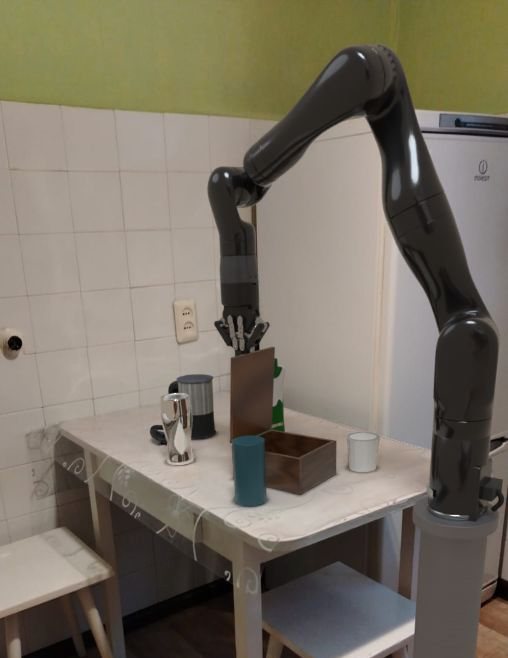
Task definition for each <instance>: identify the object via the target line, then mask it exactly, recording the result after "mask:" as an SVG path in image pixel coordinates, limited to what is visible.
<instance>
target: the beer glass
mask: <svg viewBox="0 0 508 658" xmlns="http://www.w3.org/2000/svg"><path fill="white" fill-rule="evenodd" d="M159 398H160V419H161V420H160V421H161V425H163V430H162V431H163V432H164V433H165V437H166V441H167V443H166V446H167V457H166V462H167V464H169V465H171V466H184V465H189V464H191V463H193V462H194V461H195V458H194V453H193V450H192V439H191V434H192V423H193V416H192V406H191V400H190V395H189V394H186V393H171V394H168V393H166V394H162V395H161V396H160V397H159Z"/></svg>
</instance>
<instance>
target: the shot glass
mask: <svg viewBox="0 0 508 658" xmlns="http://www.w3.org/2000/svg"><path fill="white" fill-rule="evenodd" d="M380 439H381V437H380V434H377V433H375V432H369V431H357V432H351V433H348V434H347V435H346V446H347V458H348V469H349V470H351V472H352V471H353V472H355V473H356V472H357V473H371V472H374V471H375V470H376V469H377V463H378V457H379V456H378V455H379V447H380Z"/></svg>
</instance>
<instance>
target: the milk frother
mask: <svg viewBox="0 0 508 658" xmlns="http://www.w3.org/2000/svg"><path fill="white" fill-rule="evenodd" d="M213 379H214V376H213V375H210V374H206V373H205V374H203V373H194V374H192V373H191V374H185V375H181V376H178V377H176V380H174V381H172V382H171V383H170V384H169V385H168V389H167V390H168V391H167V394H171V393H186V394H189V395H190V400H191V406H192V416H193V423H192V434H191V440H201V439H207V438H211V437H213V436H215V435H216V434H217V431H216V425H215V412H214V411H215V409H214V385H213ZM149 435H150V436H151V438H153V439H154V441H157V442H159V443H160V444H162V443H166V444H167V441H166V437H165V433H164V430H163V425H162V424H153V425H152V426H151V427H150V428H149Z"/></svg>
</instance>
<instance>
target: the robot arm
mask: <svg viewBox="0 0 508 658" xmlns="http://www.w3.org/2000/svg"><path fill="white" fill-rule="evenodd" d="M361 118H364V119H365V120H366V122H367V125H368V127H369V128H370V131H371V133H372V136H373V137H374V141H375V143H376V145H377V148H378V152H379V157H380V164H381V204H382V205H381V206H382V211H383V214H384V218H385V220H386V223H387V226H388V228H389V230H390V232H391V235H392V238H393V240H394V243H395V245H396V247H397V250H398V251H399V253H400V255H401V257H402V259H403V260H404V262H405V263H406V265H407V267H408V269H409V271H410V272H411V273H412V275H413V277H414V278H415V280H416V281H417V282H418V284H419V285H420V287H421V288H422V290H423V292H424V294H425V296H426V298H427V301H428V303H429V306H430V308H431V311H432V314H433V317H434V320H435V323H436V327H437V331H438V337H437V340H436V344H435V351H434V353H435V354H434V368H433V369H434V371H433V392H432V393H433V394H432V399H433V416H432V417H433V420H432V431H431V432H432V434H431V446H430V447H431V448H430V462H429V463H430V467H429V479H428V483H426V489H425V490H426V492H427V494H428V496H427V497H428V503H427V510H428V511H429V512H430V513H431V514H433V515H434V516H437V517H439V518H443V519H447V520H454V521H473V522H476V521H477V520H478V519H479V518H480V517H481V516H483V514H484V513H485V512H486V511H487V510H488V503H489V502H493V501H494V500H495V499H498V500H497V502H496V503H495V504H494V505H493V507H492V508H491V510H492V511H493V512H495V511H496V510H499V509H500V508H501V507H503V505H504V503H505V497H504V496H505V495H504V493H503V482H504V480H503V478H497V477H493V476H492V470H493V462H494V461H493V458H492V457H490V450H491V439H492V438H491V437H492V429H493V420H494V419H493V418H494V417H493V416H494V409H495V398H496V384H497V375H498V374H497V373H498V364H499V353H500V345H501V333H500V329H499V328H498V326H497V324H496V321H495V320H494V319H493V317H492V315H491V313H490V311H489V310H488V308H487V305H486V303H485V302H484V301H483V298H482V296H481V294H480V293H479V290H478V287H477V285H476V283H475V281H474V279H473V276H472V274H471V271H470V268H469V264H468V260H467V259H468V258H467V254H466V251H465V248H464V244H463V239H462V237H461V233H460V231H459V227H458V224H457V221H456V218H455V215H454V212H453V209H452V207H451V204H450V201H449V199H448V196H447V194H446V192H445V189H444V186H443V184H442V182H441V179H440V177H439V175H438V172H437V169H436V167H435V164H434V161H433V158H432V156H431V154H430V150H429V148H428V145H427V142H426V140H425V137H424V135H423V133H422V130H421V127H420V124H419V120H418V117H417V113H416V110H415V106H414V102H413V98H412V95H411V91H410V87H409V83H408V79H407V76H406V73H405V69H404V66H403V64H402V61H401V59H400V58H399V55H397V53H396V51H394V50H393V49H392V47H389V46H388V45H386V44H383V43H378V42H377V43H376V42H375V43H363V44H362V43H361V44H359V43H358V44H352V45H348V46H345V47H344V48H341V49H340V50H339V51H338V52H336V53H335V54H334V55H333V56H332V57H331V58H330V60H329V61H328V62H327V63H326V65H325V66H324V67H323V69H321V71H320V72H319V73H318V75H317V76H316V78H315V79H314V80H313V82H312V83H311V84H310V85H309V87H308V88H307V90H305V92H303V94H302V95H301V96H300V98H299V99H298V100H297V101H296V102H295V104H293V106H292V107H291V109H289V111H288V112H287V113H286V114H285V115H284V116H283V117H282V118H281V119H279V121H278V122H277V123H276V124H274V125H273V126H272V127H271V128H270V129H269V130H268V131H267V132H265V133H264V134H263V135H262V136H261V137H260V138H259V139H258V140H257V141H255V142H254V143H253V144H252V145H251V146H250V147H249V148H248V149H247V151H246V152H245V154H243V155H244V156H243V159H242V166H227V165H226V166H225V165H222V166H218V167H216V168H214V169H213V170H212V171H211V173H210V175H209V176H208V180H207V187H206V191H207V198H208V202H209V207H210V209H211V212H212V215H213V220H214V222H215V226H216V228H217V229H216V230H217V232H218V241H219V244H218V245H219V246H218V247H219V284H220V285H219V286H220V287H219V288H220V301H221V305H222V306H223V309H222V313H221V315H222V316H221V318H219V320H214V322H213V325H214V327H215V329H216V331H217V332H218V333H219V335H220V337H221V338H222V340H223V341H224V343H225V345H226V346H227V347H231V348H233V350H234V357H235V356H239V355H242V354H246V353H250V352H251V349H252V348H255V347H258V346H259V345H260V342H262V339H263V338H264V336H265V335H266V333H267V331H268V329H269V328H270V326H271V324H270V322H269V321H265V320H264V319H262V318H261V312H260V310H259V307H258V306H259V303H260V286H259V285H260V284H259V264H258V257H257V238H256V237H257V235H256V228H255V226H254V224H253V223H252V222H249V221H246V220H243V219H242V218H241V215H240V213H239V210H238V209H247V208H251V207H253V206H255V205H257V204H258V203H260V202H261V201H262V200H263V199H264V197H265V196H266V195H267V193H268V192H269V191H270V190H271V187H273V184H274V183H275V182H276V181H278V180H279V179H280V178H281V177H283V176H284V175H285V174H287V173H288V172H289V171H290V170H291V169H293V168H294V167H295V166H296V165H297V164H298V163H300V161H301V159H303V157H304V156H305V155H306V153H307V151H309V148H310V147H311V146H312V144H313V143H314V141H316V140H317V139H318V138H319V137H320V136H321V135H322V134H324V133H326V132H327V131H328V130H331V129H332V128H333V127H336V126H337V125H340V124H341V123H343V122H345V121H347V120H350V119H361Z"/></svg>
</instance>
